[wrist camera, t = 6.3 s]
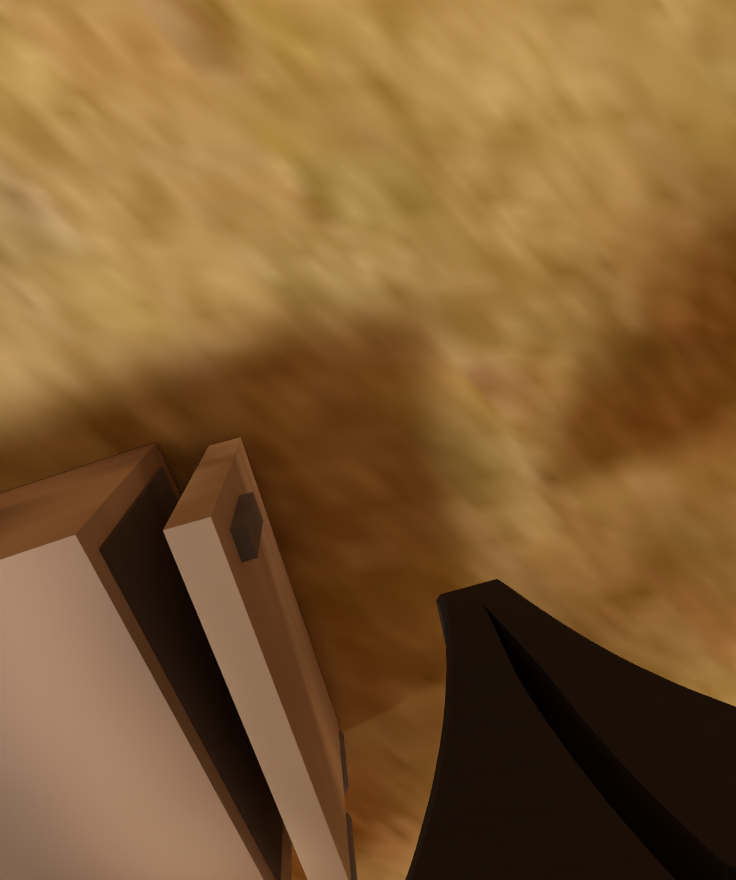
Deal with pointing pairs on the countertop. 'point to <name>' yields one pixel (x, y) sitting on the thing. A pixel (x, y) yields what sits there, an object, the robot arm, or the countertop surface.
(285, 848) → the cabinet
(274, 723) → the door
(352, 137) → the countertop surface
